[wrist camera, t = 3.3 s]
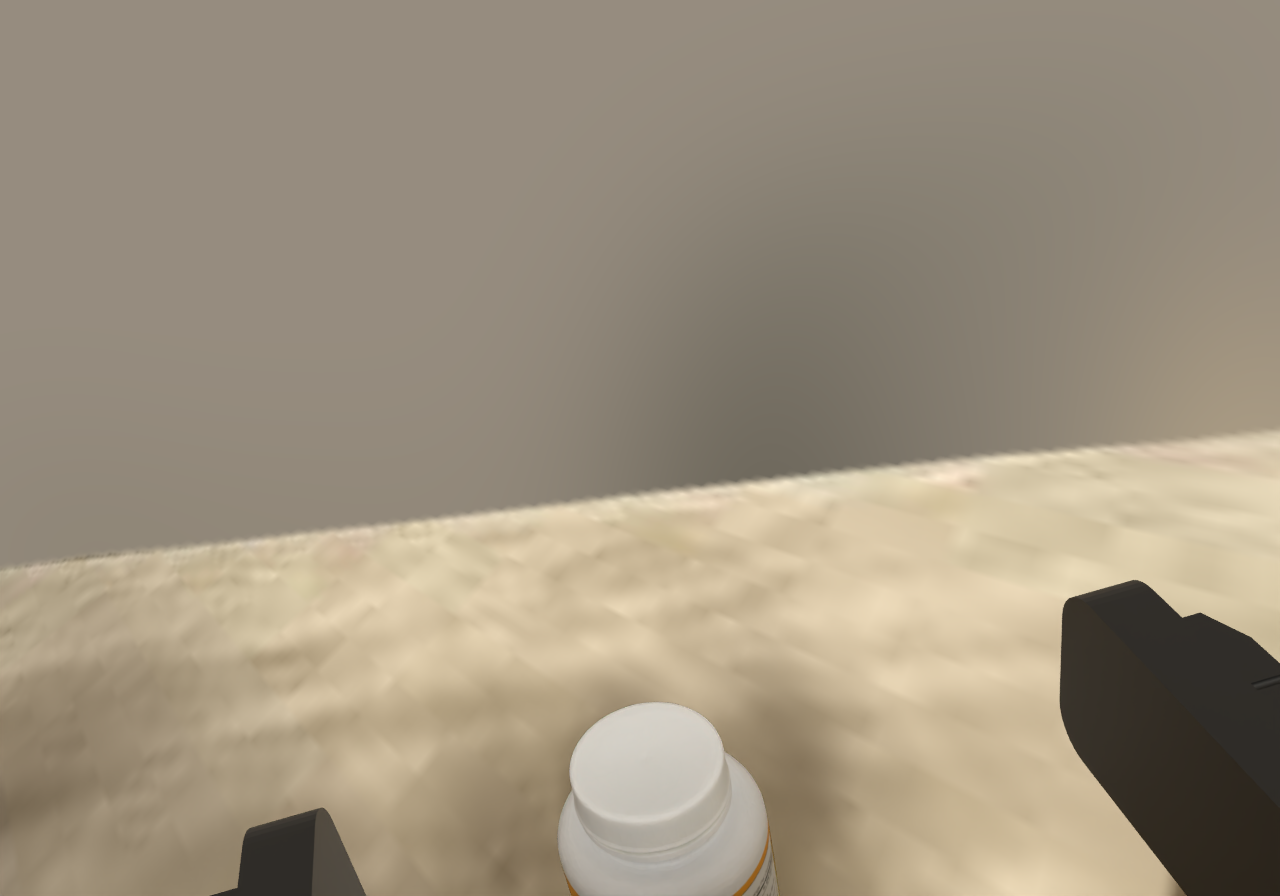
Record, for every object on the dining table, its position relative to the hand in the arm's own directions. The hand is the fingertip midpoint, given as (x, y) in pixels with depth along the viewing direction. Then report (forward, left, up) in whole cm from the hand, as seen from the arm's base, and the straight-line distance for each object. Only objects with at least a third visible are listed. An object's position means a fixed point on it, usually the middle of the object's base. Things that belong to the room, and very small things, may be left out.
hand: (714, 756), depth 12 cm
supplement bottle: (0, +12, -22) cm, 25 cm away
